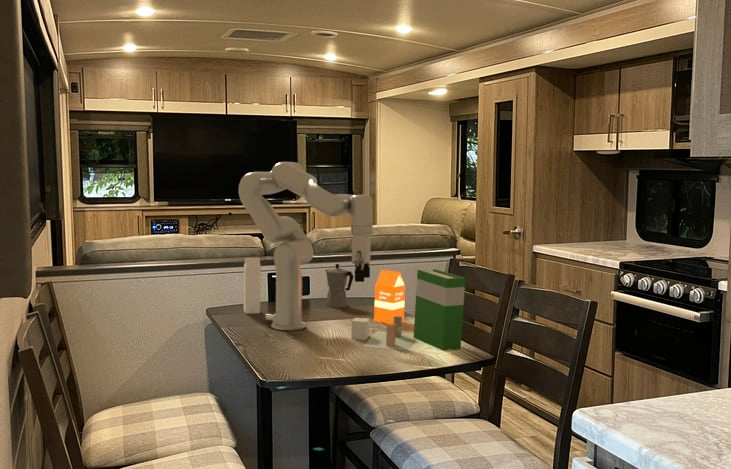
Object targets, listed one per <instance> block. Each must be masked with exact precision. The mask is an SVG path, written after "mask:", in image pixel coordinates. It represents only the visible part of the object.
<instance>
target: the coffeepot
mask: <svg viewBox="0 0 731 469" xmlns="http://www.w3.org/2000/svg"><path fill="white" fill-rule="evenodd" d="M325 273H326V279H327V280H326V281H327V287H328V292H327V296H326V300H325V306H326V307H328V308H332V309H333V308H334V309H337V308H338V309H339V308H340V309H342V308H346V307H347V306H348V300H347V299H348V298H347V293H346V291H350V290H351V286H352V284H353V280H354V278H355V275H353V272H352V271H349V270H346V269H343V268H340V263H336V264H335V268H331V269H330V268H329V269H325ZM348 278H349V279H348ZM347 280H348V283H347ZM346 286H347V287H346Z"/></svg>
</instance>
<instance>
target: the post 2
mask: <svg viewBox="0 0 731 469" xmlns="http://www.w3.org/2000/svg"><path fill="white" fill-rule="evenodd" d="M393 324H396V335H395V337H401V335H402V333H403V332H402V330H403V328H402V327H403V323H402V316H396V315H395V316H394V321H393Z"/></svg>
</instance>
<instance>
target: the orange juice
mask: <svg viewBox="0 0 731 469" xmlns="http://www.w3.org/2000/svg"><path fill="white" fill-rule="evenodd" d="M405 291H406V284H405V281H404V280H403V277H402V274H401V272H400V271H394V270H386V269H381V271H380V273H379V276H378V278H377V280H376V283H375V286H374V315H373V318H374V322H378V323H382V324H393V321H394V316H395V315H396V316H402V322H403V323H404V322H405V321H404V319H405V303H406V302H405V301H406V300H405V294H406V293H405Z"/></svg>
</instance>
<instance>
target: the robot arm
mask: <svg viewBox="0 0 731 469" xmlns="http://www.w3.org/2000/svg"><path fill="white" fill-rule="evenodd" d="M286 190H288V191H290V192H292V193H294V194H295V195H298V196H299V197H301V198H303V199H304V200H305V202H306V203H307V204H308V205H310V207H312V208H314V210H317V211H319V212H321V213H322V214H325V215H327V216H329V217H334V218H335V217H343V216H350V235H351V236H352V243H351V247H352V248H351V263H352V264H353V265H354V282H356V283H364V282H365V278H366V279H369V278H371V275H370V274H371V267H370V265H371V264H370V261H371V255H372V254H371V236H373V233H374V231H373V229H374V228H373V226H374V225H373V224H374V223H373V220H374V219H373V198H372V196H371V195H370V194H348V193H344V194H343V193H339V194H334V193H331V192H329V191H328V190H326V189H324V188H323V187H321V186H320V185H319V184H318V180H317V177H315V176H313V175H312V174H310V173H309V172H306V170H305V168H304V167H303V165H302V164H300V163H298V162H295V161H281V162H278V163H276V164H275V165H273V167H272V169H271V171H253V172H248V173H246V174H244V175H243V177H241V179H240V181H239V184H238V196H239V199H240V202H241V204H242V205H243V207H244V208H245V210H246V211H247V212H248V214H249V215H250V217H251V218H252V220H253V221H254V223H255V225H256V226H257V227H256V228H258V230H259V231H260V233H261V234H262V235H263V237H264V238H265V240H266V241H267V242H269V243H271V244H276V243H280V244H278V246H276V248H275V250H274V253H273V262H274V268H275V280H276V281H275V313H274V314H271V313H266V314H265V315H264V318H265V320H266V321H271V329H272V328H273V329H275V330H278V331H279V330H280V331H298V330H303V329H305V328H306V326H307V325H306V324H307V323H305V322H304V321H303V320H302V319H303V318H302V317H303V316H302V312H303V311H302V310H303V309H302V308H303V304H302V302H303V275H302V271H301V267H300V266H302V265H306V264H308V263H310V262H311V261H312V259H313V258H314V254H315V252H314V246H313V245H312V243H311V241H310V240H309V238H308V236H307V235H306V233H305V232H304V231H303V228H301V226H300V224H299V223H298V222H297V220H295V219H294V218H292V217H290V216H286V215H284V216H282V215H281V216H280V215H279V214H278V213H277V212H276V210H275V209H274V206H272V204H271V203H270V202H269V201H268V200H267V199H266V198H265V197H264V196H263V195H272V194H277V193H280V192H282V191H286Z"/></svg>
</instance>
